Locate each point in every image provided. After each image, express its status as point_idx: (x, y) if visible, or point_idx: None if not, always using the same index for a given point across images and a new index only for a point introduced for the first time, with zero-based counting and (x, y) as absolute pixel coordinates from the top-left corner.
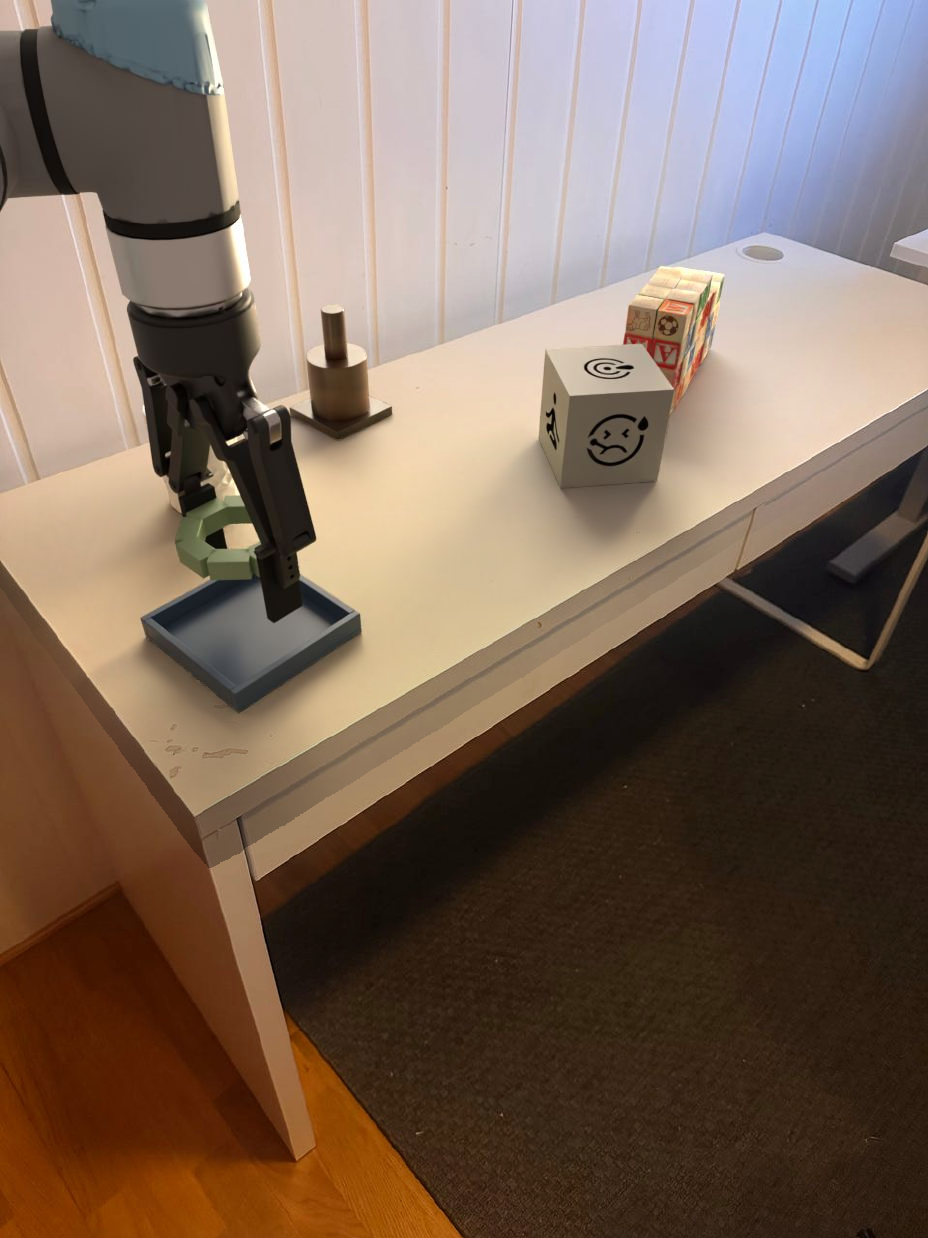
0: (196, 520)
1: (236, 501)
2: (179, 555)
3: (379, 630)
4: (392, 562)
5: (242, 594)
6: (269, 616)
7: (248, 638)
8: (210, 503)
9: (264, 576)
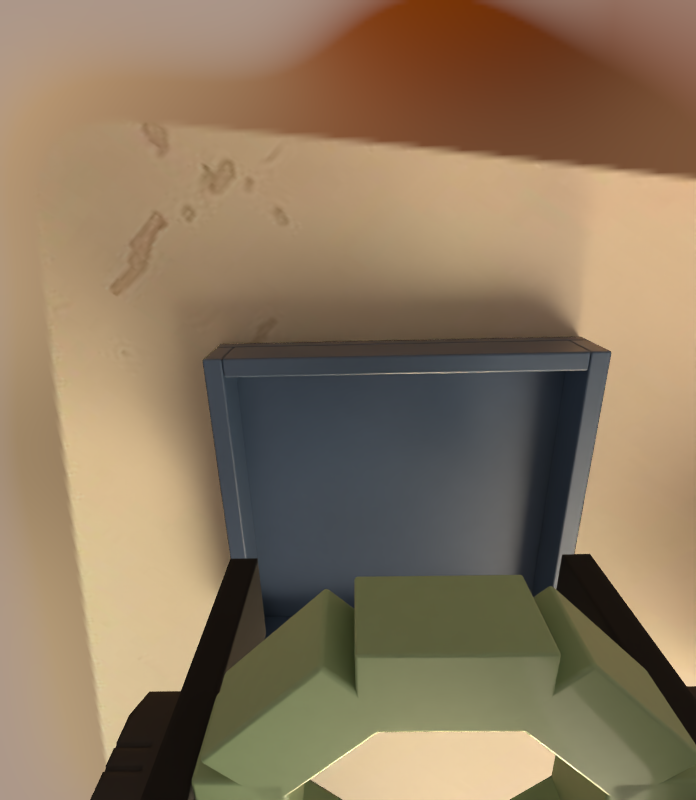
0: (623, 779)
1: None
2: (525, 604)
3: None
4: (367, 741)
5: (504, 547)
6: (241, 569)
7: (381, 481)
8: None
9: (179, 713)
